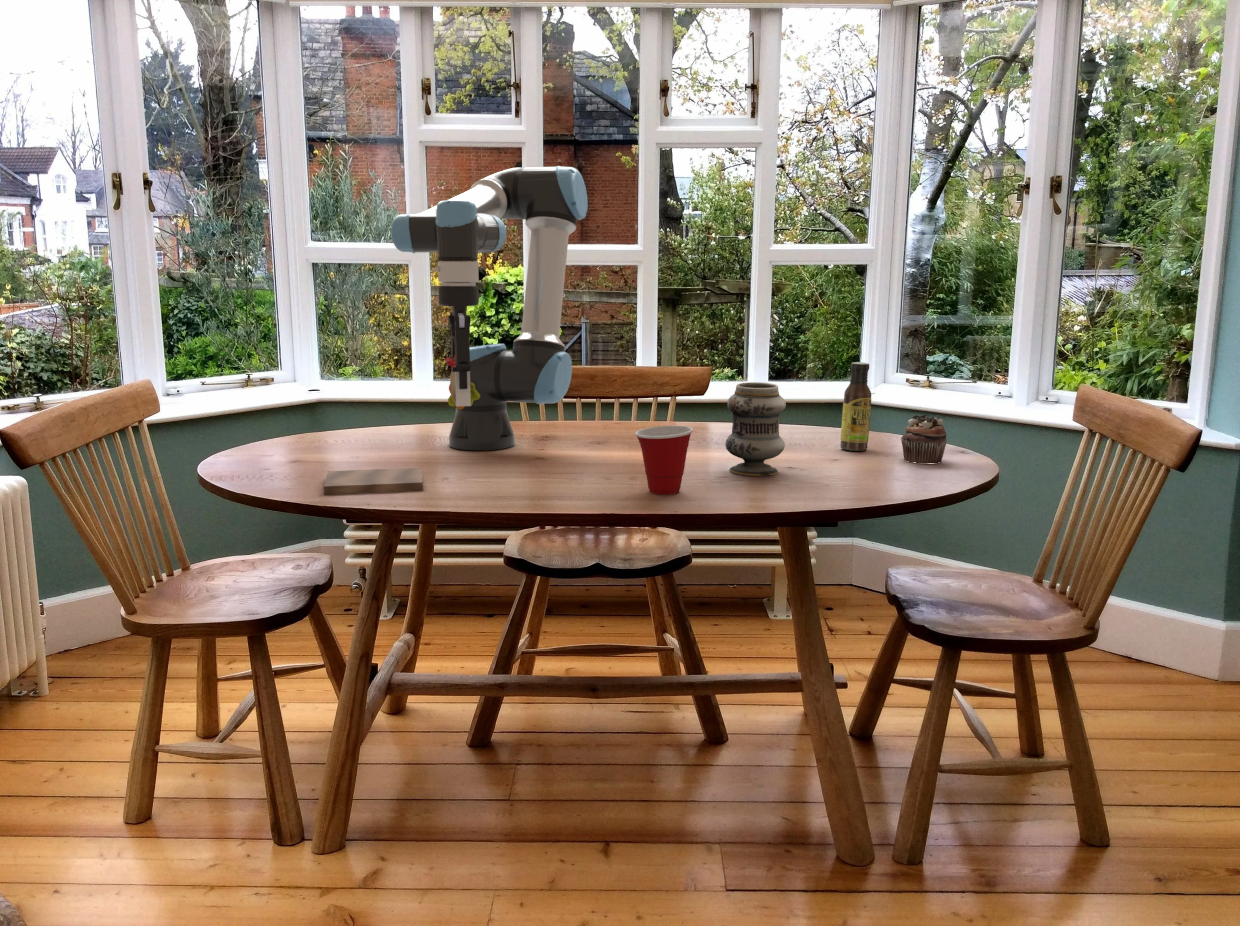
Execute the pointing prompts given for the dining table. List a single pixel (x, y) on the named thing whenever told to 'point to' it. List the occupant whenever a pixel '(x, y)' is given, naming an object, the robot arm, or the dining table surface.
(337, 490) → the walnut board
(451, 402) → the bird rattle
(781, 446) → the apothecary jar
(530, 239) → the robot arm
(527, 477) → the dining table surface
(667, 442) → the plastic cup
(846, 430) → the sauce bottle
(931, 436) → the cupcake
